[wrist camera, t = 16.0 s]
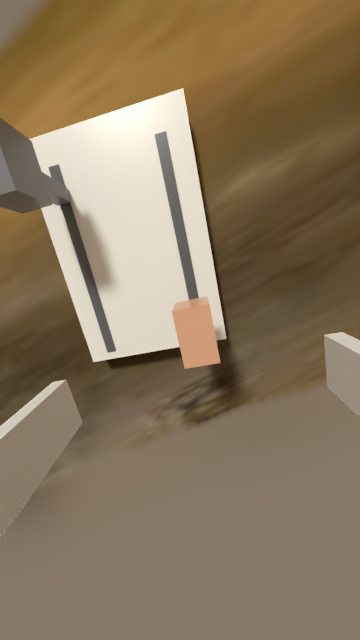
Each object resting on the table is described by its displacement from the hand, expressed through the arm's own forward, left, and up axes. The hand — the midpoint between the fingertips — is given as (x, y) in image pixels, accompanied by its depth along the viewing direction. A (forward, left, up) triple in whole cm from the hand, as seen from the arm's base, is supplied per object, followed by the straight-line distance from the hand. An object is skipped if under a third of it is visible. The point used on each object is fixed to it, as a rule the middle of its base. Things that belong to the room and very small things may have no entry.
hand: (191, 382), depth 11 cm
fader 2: (0, 0, -16) cm, 16 cm away
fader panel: (-6, +9, -19) cm, 22 cm away
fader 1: (-12, +16, -16) cm, 25 cm away
